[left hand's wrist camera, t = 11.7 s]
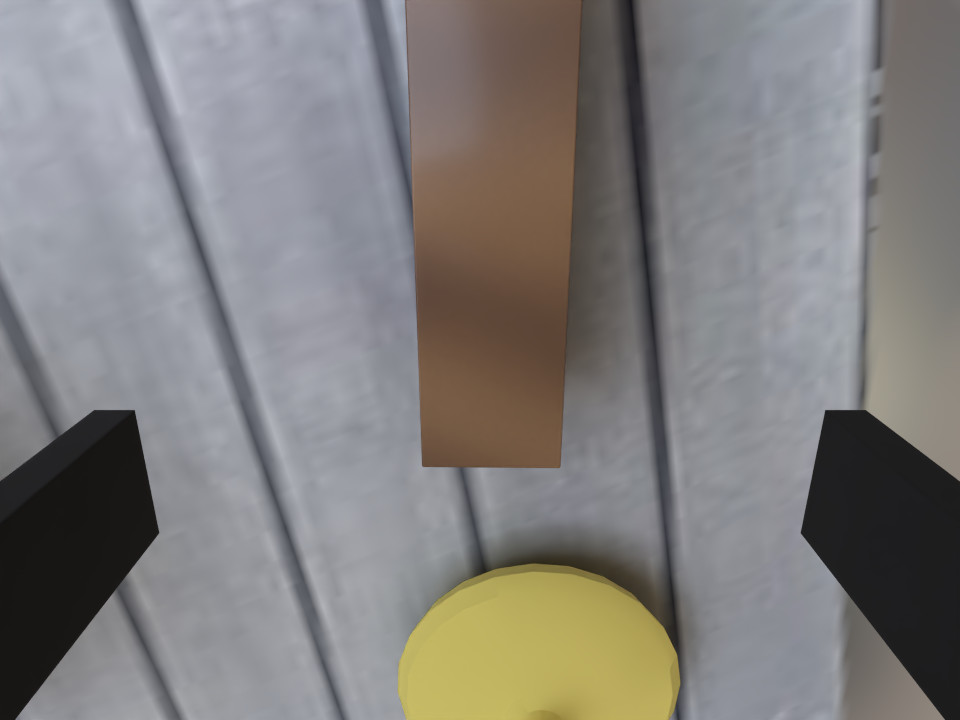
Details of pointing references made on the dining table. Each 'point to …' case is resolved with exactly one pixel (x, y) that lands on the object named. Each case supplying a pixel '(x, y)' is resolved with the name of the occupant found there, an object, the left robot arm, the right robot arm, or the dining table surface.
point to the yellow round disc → (538, 651)
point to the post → (492, 224)
